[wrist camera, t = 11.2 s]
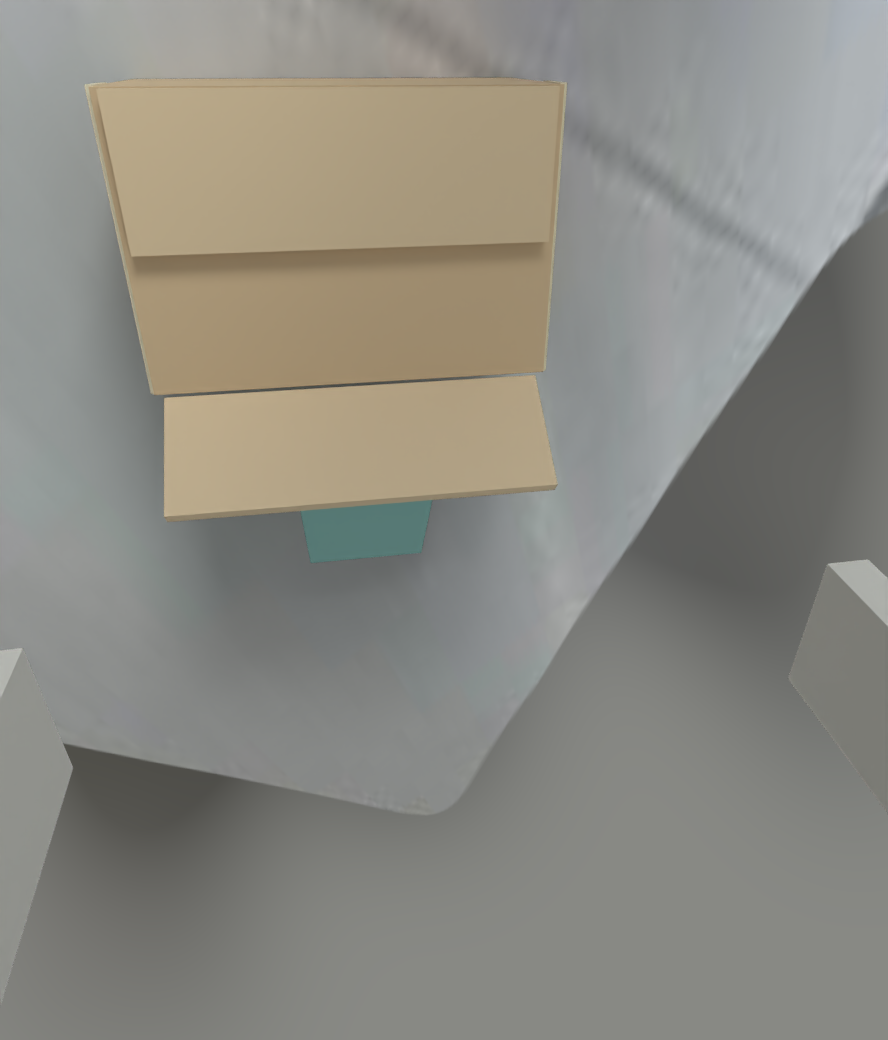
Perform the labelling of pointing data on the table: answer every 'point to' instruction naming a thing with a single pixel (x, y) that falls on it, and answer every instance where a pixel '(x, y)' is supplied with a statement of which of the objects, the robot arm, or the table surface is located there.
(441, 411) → the flap
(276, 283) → the carton
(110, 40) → the table surface
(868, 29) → the table surface
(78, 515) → the table surface
